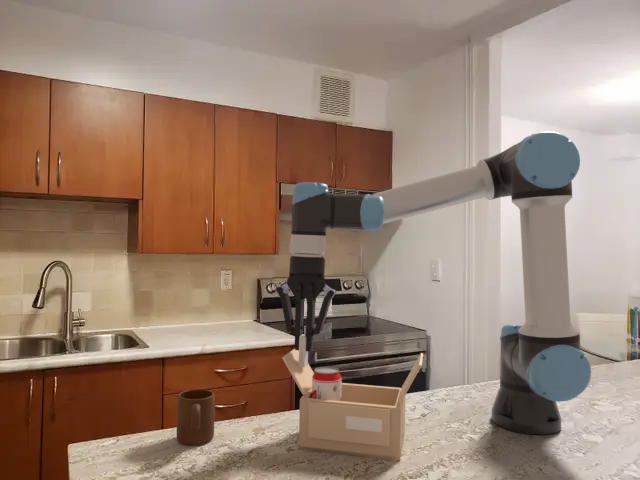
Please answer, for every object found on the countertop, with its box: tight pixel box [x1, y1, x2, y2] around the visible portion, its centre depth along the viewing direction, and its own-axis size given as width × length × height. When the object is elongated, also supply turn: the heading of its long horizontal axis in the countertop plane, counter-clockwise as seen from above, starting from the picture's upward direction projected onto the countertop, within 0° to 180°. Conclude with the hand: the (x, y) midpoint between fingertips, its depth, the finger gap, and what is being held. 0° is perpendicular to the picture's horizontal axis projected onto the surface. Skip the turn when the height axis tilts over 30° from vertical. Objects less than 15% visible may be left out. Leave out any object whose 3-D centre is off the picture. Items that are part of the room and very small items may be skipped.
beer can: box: [312, 366, 343, 401], centre depth 107 cm, size 6×6×16 cm
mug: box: [176, 388, 216, 447], centre depth 105 cm, size 12×8×9 cm, turn 13°
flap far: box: [282, 348, 315, 395], centre depth 110 cm, size 8×11×1 cm
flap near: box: [398, 352, 424, 403], centre depth 105 cm, size 8×11×1 cm
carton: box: [298, 382, 406, 462], centre depth 107 cm, size 20×15×10 cm
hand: (302, 365), depth 110 cm, fingers closed
